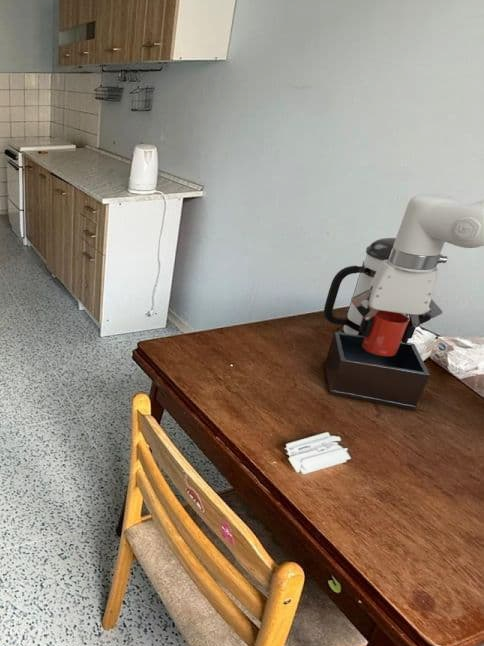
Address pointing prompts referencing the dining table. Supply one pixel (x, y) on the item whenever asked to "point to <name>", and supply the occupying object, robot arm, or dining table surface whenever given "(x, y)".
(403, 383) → the dark open box
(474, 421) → the dining table surface
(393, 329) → the cup
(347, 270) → the coffee press
